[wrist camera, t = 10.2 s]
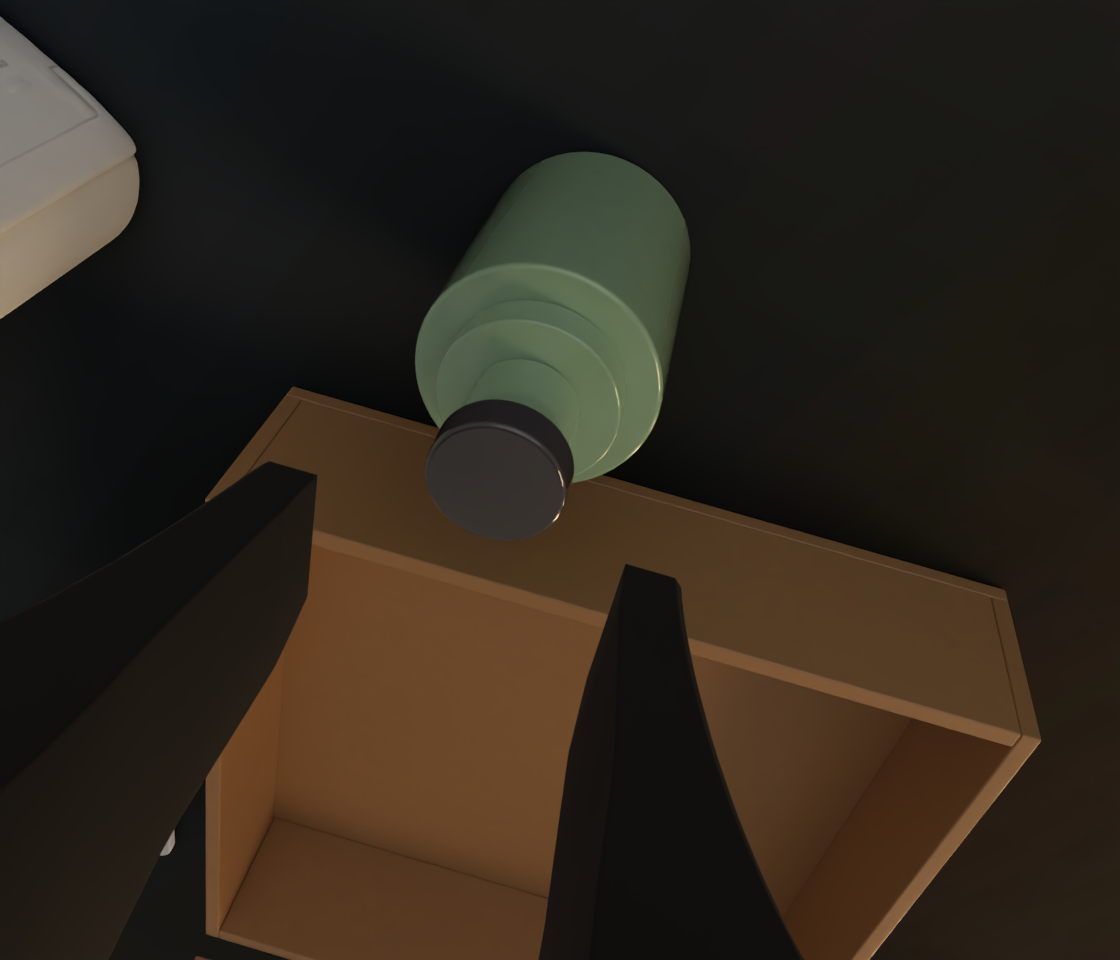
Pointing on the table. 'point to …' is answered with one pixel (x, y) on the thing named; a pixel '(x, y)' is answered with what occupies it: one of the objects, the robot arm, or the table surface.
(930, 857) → the carton
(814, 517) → the table surface
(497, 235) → the bottle
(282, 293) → the table surface
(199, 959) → the flap
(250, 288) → the table surface
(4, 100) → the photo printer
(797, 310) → the table surface
